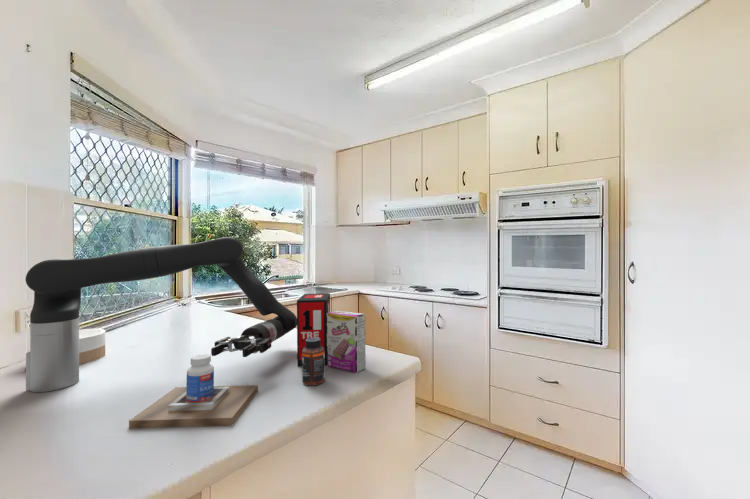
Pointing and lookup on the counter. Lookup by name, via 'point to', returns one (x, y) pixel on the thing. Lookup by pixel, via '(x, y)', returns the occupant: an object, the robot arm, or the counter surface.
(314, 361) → the supplement bottle
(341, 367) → the candy bar box
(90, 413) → the counter surface
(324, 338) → the cleaning product box
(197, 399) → the pill bottle
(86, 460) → the counter surface
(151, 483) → the counter surface
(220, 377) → the counter surface
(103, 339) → the bowl
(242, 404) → the walnut board
